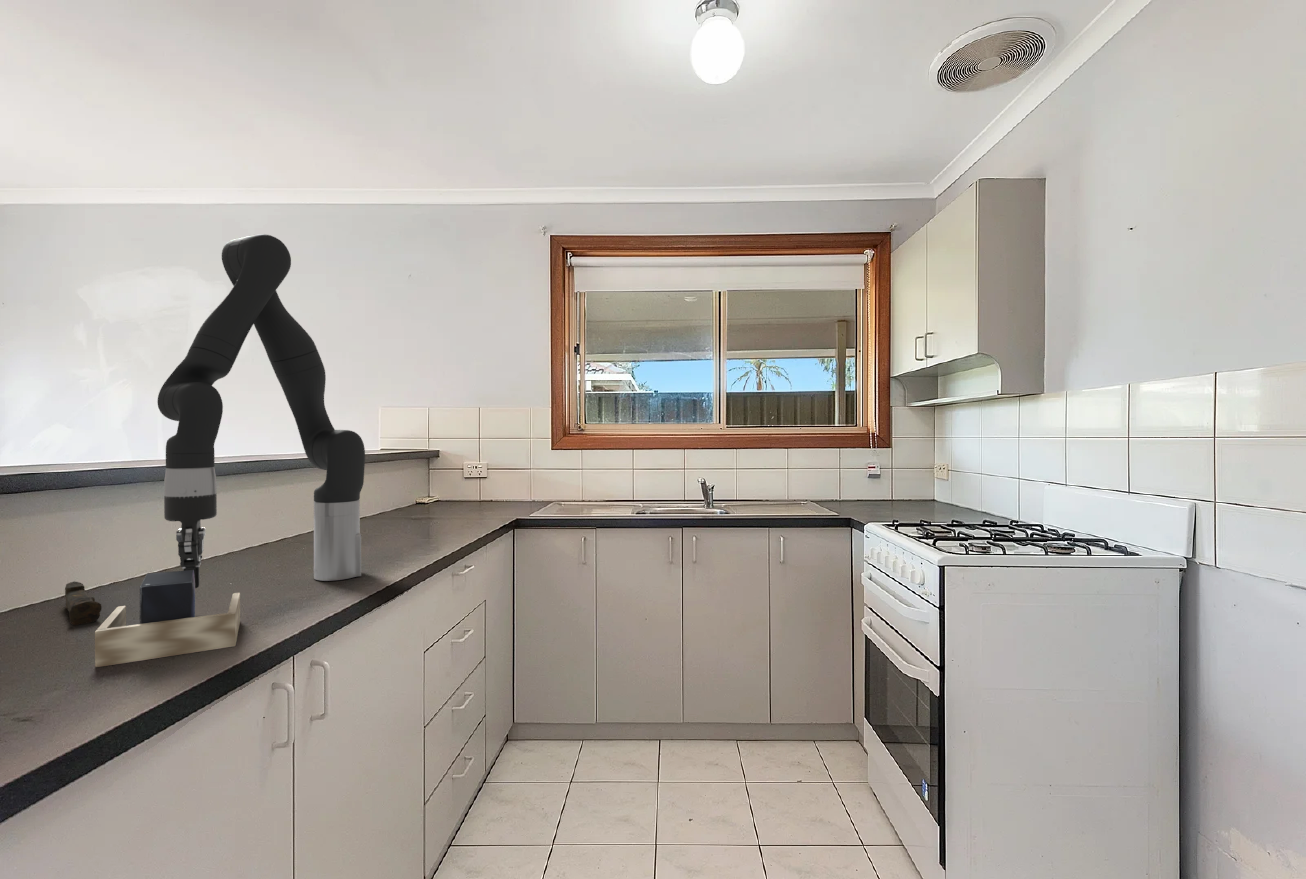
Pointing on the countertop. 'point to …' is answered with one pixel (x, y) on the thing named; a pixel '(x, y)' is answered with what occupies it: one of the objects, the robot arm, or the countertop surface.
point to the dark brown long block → (81, 604)
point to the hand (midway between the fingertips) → (191, 587)
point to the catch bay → (164, 636)
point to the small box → (167, 596)
